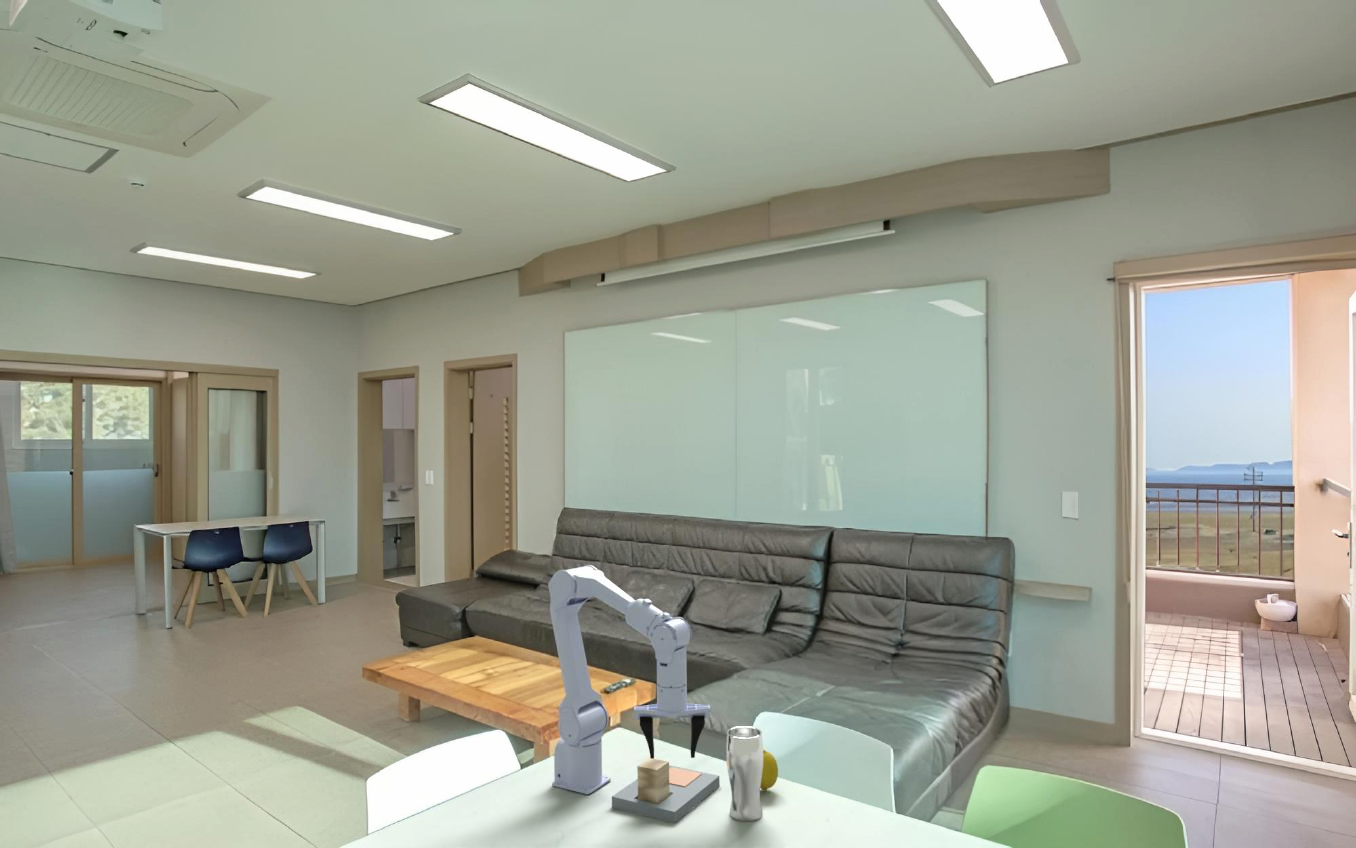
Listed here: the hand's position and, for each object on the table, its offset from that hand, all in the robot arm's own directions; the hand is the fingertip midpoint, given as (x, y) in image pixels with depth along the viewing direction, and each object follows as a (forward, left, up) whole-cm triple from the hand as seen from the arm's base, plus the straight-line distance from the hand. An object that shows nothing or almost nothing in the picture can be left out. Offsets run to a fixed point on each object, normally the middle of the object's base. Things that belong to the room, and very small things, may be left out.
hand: (672, 756), depth 144 cm
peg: (-4, -1, -10) cm, 11 cm away
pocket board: (-4, +4, -10) cm, 11 cm away
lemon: (+12, +15, -10) cm, 22 cm away
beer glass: (+13, +4, -10) cm, 17 cm away
